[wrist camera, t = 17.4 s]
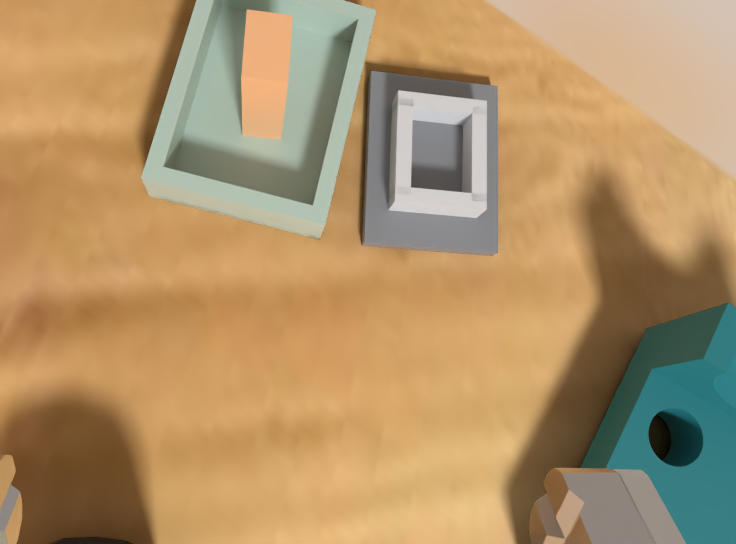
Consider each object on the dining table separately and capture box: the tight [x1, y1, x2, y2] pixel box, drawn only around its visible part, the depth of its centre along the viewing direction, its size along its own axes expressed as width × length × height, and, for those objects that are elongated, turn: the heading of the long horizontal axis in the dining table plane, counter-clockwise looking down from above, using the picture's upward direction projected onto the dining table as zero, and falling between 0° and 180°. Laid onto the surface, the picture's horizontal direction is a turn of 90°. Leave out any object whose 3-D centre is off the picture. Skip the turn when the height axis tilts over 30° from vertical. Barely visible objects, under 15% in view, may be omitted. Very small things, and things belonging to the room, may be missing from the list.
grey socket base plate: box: [362, 71, 498, 256], centre depth 45 cm, size 9×12×3 cm
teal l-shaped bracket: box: [580, 303, 736, 544], centre depth 39 cm, size 18×11×10 cm, turn 148°
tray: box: [141, 0, 376, 239], centre depth 43 cm, size 11×15×4 cm
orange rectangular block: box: [241, 9, 293, 139], centre depth 40 cm, size 2×4×8 cm, turn 177°
